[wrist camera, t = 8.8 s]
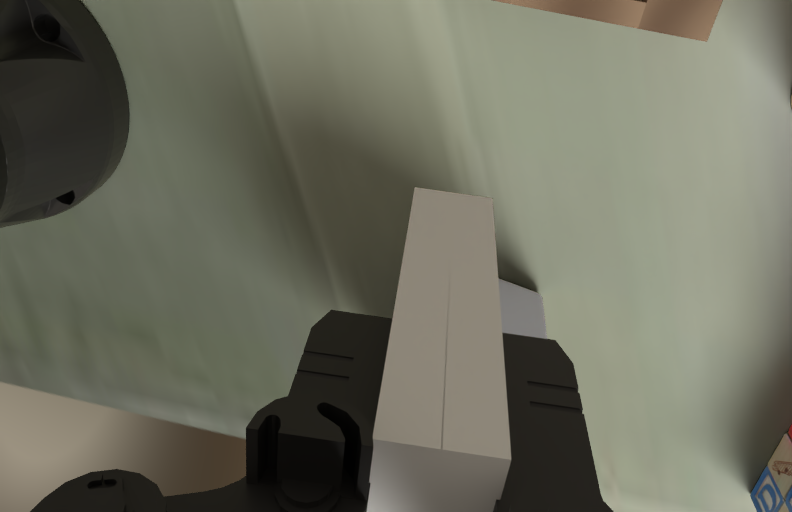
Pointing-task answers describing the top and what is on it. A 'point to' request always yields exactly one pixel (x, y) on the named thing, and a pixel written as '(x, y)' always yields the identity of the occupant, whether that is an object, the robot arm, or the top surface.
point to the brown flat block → (640, 13)
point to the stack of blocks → (776, 480)
